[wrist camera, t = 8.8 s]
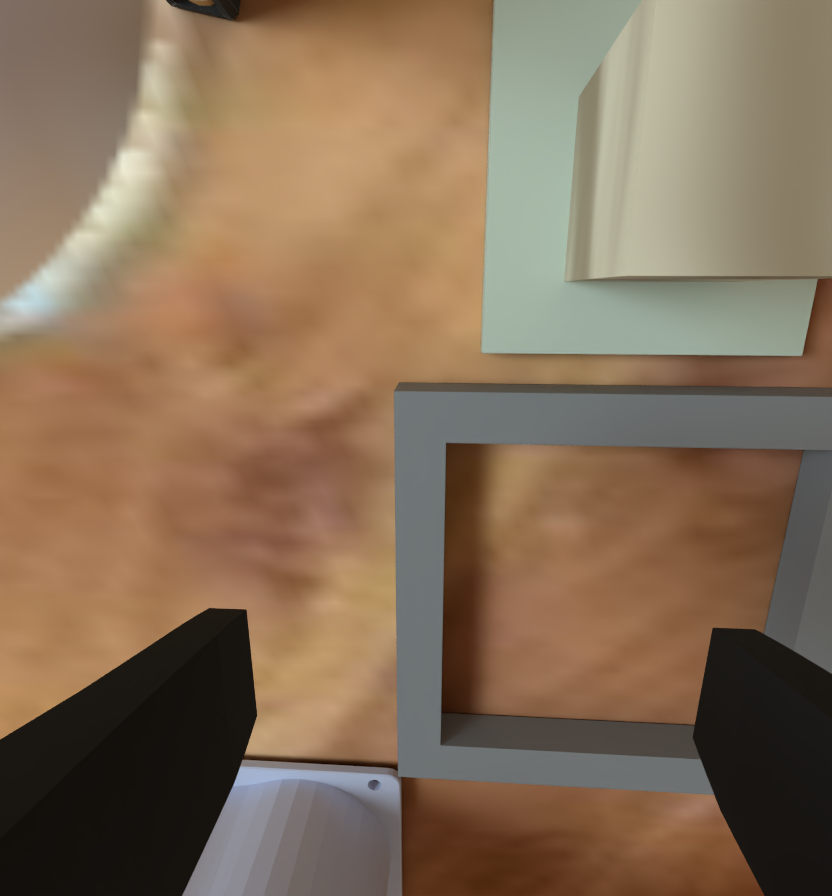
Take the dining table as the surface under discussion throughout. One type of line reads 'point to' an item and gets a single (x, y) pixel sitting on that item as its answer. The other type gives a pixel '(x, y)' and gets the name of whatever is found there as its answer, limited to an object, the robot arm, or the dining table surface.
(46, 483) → the dining table surface
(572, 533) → the dining table surface
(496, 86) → the green pad
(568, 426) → the frame
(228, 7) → the ammunition clip
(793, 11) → the maple block
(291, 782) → the robot arm
